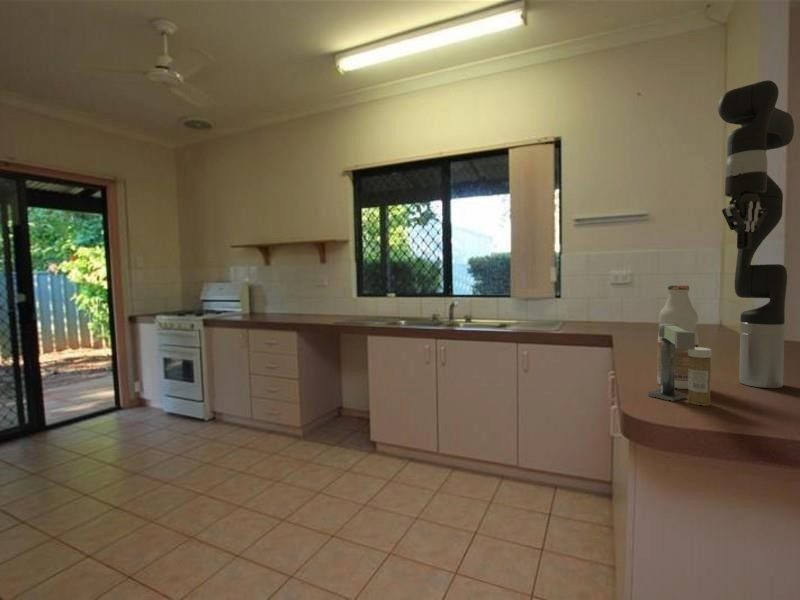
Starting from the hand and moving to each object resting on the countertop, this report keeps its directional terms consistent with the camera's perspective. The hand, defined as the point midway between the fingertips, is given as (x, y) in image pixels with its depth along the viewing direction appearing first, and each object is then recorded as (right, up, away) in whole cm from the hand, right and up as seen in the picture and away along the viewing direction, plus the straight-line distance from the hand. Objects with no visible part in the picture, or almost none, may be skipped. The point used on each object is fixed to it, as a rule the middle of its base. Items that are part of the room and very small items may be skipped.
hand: (744, 248), depth 99 cm
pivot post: (-13, -37, +8) cm, 40 cm away
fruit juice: (-3, -36, +19) cm, 41 cm away
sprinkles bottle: (-9, -37, +2) cm, 38 cm away
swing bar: (-16, -22, 0) cm, 27 cm away
